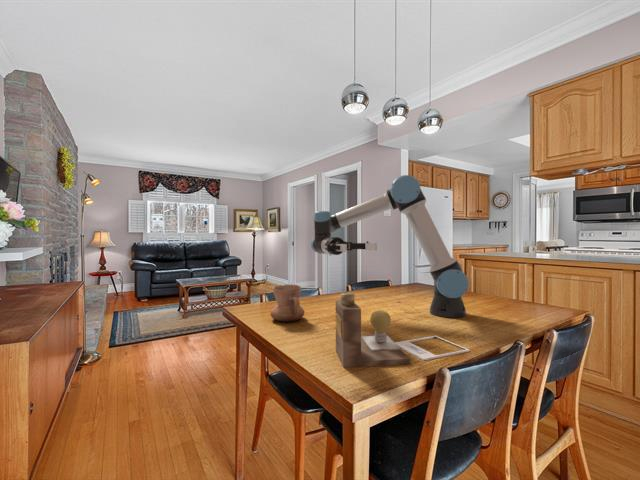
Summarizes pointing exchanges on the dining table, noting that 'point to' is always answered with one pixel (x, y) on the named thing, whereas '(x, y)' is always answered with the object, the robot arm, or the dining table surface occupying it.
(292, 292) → the ceramic jug
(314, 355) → the dining table surface
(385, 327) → the light bulb
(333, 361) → the dining table surface
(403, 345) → the photo frame
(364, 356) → the brown l-shaped block
